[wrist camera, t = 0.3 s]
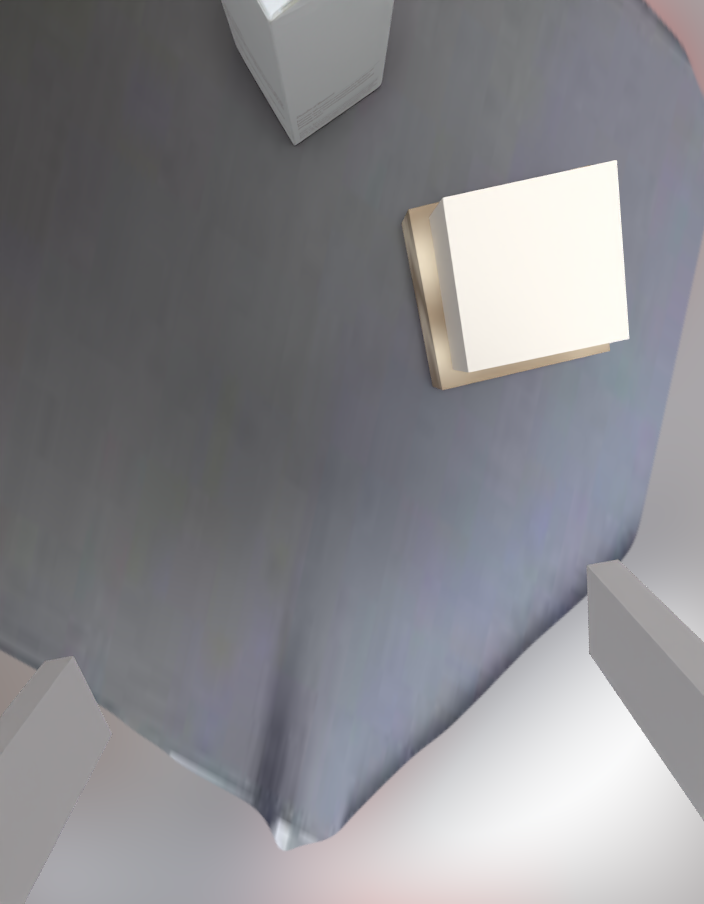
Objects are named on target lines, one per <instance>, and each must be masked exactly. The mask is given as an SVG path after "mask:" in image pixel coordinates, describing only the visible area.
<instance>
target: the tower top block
mask: <svg viewBox="0 0 704 904" xmlns="http://www.w3.org/2000/svg"><path fill="white" fill-rule="evenodd" d="M429 220H430V226H431V233H432V239H433V246H434V252H435V258H436V265H437V271H438V278H439V284H440V291H441V297H442V303H443V310H444V316H445V323H446V329H447V336H448V342H449V348H450V355H451V361H452V368H453V370H457V371H463V372H468V373H469V372H474V371H478V370H483V369H488V368H493V367H497V366H502V365H507V364H512V363H516V362H521V361H526V360H531V359H535V358H540V357H545V356H550V355H554V354H559V353H564V352H569V351H573V350H578V349H583V348H588V347H592V346H597V345H602V344H607V343H611V342H616V341H621V340H626V339H629V329H628V314H627V300H626V286H625V271H624V257H623V243H622V228H621V214H620V200H619V185H618V171H617V160H614V161H610V162H605V163H601V164H596V165H591V166H587V167H582V168H578V169H573V170H569V171H564V172H559V173H555V174H550V175H546V176H541V177H536V178H532V179H527V180H523V181H518V182H513V183H509V184H504V185H500V186H495V187H490V188H486V189H481V190H477V191H472V192H467V193H463V194H458V195H454V196H449V197H444V198H442V200H441V201H440V202H439V204H438V205H437V207H436V208H435V210H434V211H433V213H432V214H431V215H430V217H429Z"/></svg>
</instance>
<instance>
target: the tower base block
mask: <svg viewBox="0 0 704 904" xmlns="http://www.w3.org/2000/svg"><path fill="white" fill-rule="evenodd" d="M588 166H590V165H588ZM584 167H587V166H584ZM580 168H582V167H580ZM576 169H578V168H576ZM572 170H573V169H572ZM568 171H569V170H568ZM438 204H439V202H437V203H433V204H429V205H425V206H421V207H417V208H413V209H408V211H407V213H406V215H405V217H404V220H403V222H402V228H403V234H404V239H405V244H406V249H407V254H408V260H409V265H410V270H411V275H412V280H413V286H414V291H415V296H416V301H417V306H418V312H419V317H420V322H421V327H422V333H423V338H424V343H425V348H426V353H427V359H428V364H429V369H430V374H431V379H432V385H433V387H436V388H438V389H441V390H445V389H450V388H454V387H458V386H462V385H467V384H471V383H475V382H479V381H484V380H488V379H492V378H496V377H501V376H505V375H509V374H513V373H518V372H522V371H526V370H530V369H535V368H539V367H543V366H547V365H552V364H556V363H560V362H564V361H569V360H573V359H577V358H581V357H586V356H590V355H594V354H598V353H603V352H607V351H610V346H609V343H607V344H602V345H597V346H592V347H588V348H583V349H578V350H573V351H569V352H564V353H559V354H554V355H550V356H545V357H540V358H535V359H531V360H526V361H521V362H516V363H512V364H507V365H502V366H497V367H493V368H488V369H483V370H478V371H474V372H469V373H468V372H463V371H457V370H453V368H452V361H451V355H450V348H449V342H448V336H447V329H446V323H445V316H444V310H443V303H442V297H441V291H440V284H439V278H438V271H437V265H436V258H435V252H434V246H433V239H432V233H431V226H430V220H429V217H430V215H431V214H432V213H433V211H434V210H435V208H436V207H437V205H438Z"/></svg>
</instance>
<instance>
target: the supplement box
mask: <svg viewBox="0 0 704 904" xmlns="http://www.w3.org/2000/svg"><path fill="white" fill-rule="evenodd" d="M221 2H222V5H223V8H224V11H225V13H226V16H227V20H228V23H229V26H230V29H231V32H232V35H233V38H234V41H235V44H236V47H237V48H238V50H239V52H240V54H241V56H242V58H243V59H244V61H245V63H246V65H247V67H248V68H249V70H250V72H251V73H252V75H253V77H254V79H255V80H256V82H257V84H258V86H259V87H260V89H261V91H262V92H263V94H264V96H265V97H266V99H267V101H268V102H269V104H270V106H271V107H272V109H273V111H274V113H275V114H276V116H277V118H278V119H279V121H280V123H281V124H282V126H283V128H284V129H285V131H286V133H287V134H288V136H289V138H290V139H291V141H292V143H293V144H294V145H297V144H298V143H300V142H301V141H303V140H304V139H305V138H307V137H308V136H310V135H311V134H313V133H314V132H316V131H317V130H318V129H320V128H321V127H323V126H324V125H326V124H327V123H329V122H330V121H331V120H333V119H334V118H336V117H337V116H339V115H340V114H342V113H343V112H344V111H346V110H347V109H349V108H350V107H351V106H353V105H354V104H356V103H357V102H359V101H360V100H361V99H363V98H364V97H365V96H367V95H369V94H370V93H371V92H373V91H374V90H375V89H377V88H378V87H379V86H380V85H381V84H382V79H383V72H384V65H385V59H386V52H387V45H388V38H389V32H390V25H391V18H392V11H393V5H394V0H221Z"/></svg>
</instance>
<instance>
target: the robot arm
mask: <svg viewBox="0 0 704 904" xmlns="http://www.w3.org/2000/svg"><path fill="white" fill-rule="evenodd" d="M587 590H588V623H589V654H590V655H591V657H592V658H593V659H594V661H595V662H596V664H597V665H598V667H599V668H600V670H601V671H602V673H603V674H604V676H605V677H606V678H607V680H608V681H609V683H610V684H611V686H612V687H613V689H614V690H615V691H616V693H617V695H618V696H619V697H620V699H621V700H622V702H623V703H624V705H625V706H626V708H627V709H628V710H629V712H630V713H631V715H632V716H633V718H634V719H635V721H636V722H637V724H638V725H639V727H640V728H641V729H642V731H643V732H644V734H645V735H646V737H647V738H648V740H649V741H650V743H651V744H652V746H653V747H654V749H655V750H656V751H657V753H658V754H659V756H660V757H661V759H662V760H663V762H664V763H665V765H666V766H667V768H668V769H669V771H670V772H671V773H672V775H673V776H674V778H675V779H676V781H677V782H678V784H679V785H680V787H681V788H682V789H683V791H684V792H685V794H686V795H687V797H688V798H689V800H690V801H691V803H692V804H693V806H694V807H695V808H696V810H697V811H698V813H699V814H700V816H701V817H702V819H703V820H704V642H703V641H702V640H701V639H700V638H699V637H698V636H697V635H696V634H695V633H693V631H691V630H690V629H689V628H688V627H687V626H686V625H685V624H684V623H683V622H682V621H681V620H680V619H679V618H678V617H677V616H676V615H675V614H674V613H673V612H672V611H671V610H670V609H669V608H668V607H667V606H666V605H665V604H664V603H663V602H661V600H659V599H658V598H657V597H656V596H655V595H654V594H653V593H652V592H651V591H650V590H649V589H648V588H647V587H646V586H645V585H644V584H643V583H642V582H641V581H640V580H639V579H638V578H637V577H636V576H635V575H634V574H633V573H632V572H631V571H629V570H628V568H627V567H625V566H624V565H623V564H622V563H621V562H620V561H619V560H613V561H607V562H602V563H596V564H590V565H587ZM111 735H112V732H111V730H110V728H109V726H108V724H107V722H106V720H105V719H104V716H103V714H102V712H101V711H100V708H99V706H98V704H97V702H96V700H95V698H94V696H93V694H92V692H91V690H90V688H89V686H88V684H87V682H86V680H85V678H84V676H83V674H82V672H81V670H80V668H79V666H78V664H77V662H76V660H75V658H74V656H70V657H65V658H59V659H53V660H48V661H44V663H43V664H42V665H41V666H40V668H39V669H38V670H37V671H36V673H35V674H34V675H33V677H32V678H31V679H30V680H29V681H28V683H27V684H26V685H25V686H24V688H23V689H22V690H21V691H20V693H19V694H18V695H17V696H16V698H15V699H14V700H13V701H12V703H11V704H10V705H9V706H8V708H7V709H6V710H5V711H4V713H3V714H2V715H1V716H0V904H25V902H26V900H27V898H28V896H29V894H30V892H31V890H32V888H33V886H34V884H35V882H36V880H37V878H38V876H39V875H40V873H41V871H42V869H43V867H44V865H45V863H46V861H47V859H48V857H49V855H50V853H51V851H52V849H53V848H54V846H55V844H56V842H57V839H58V838H59V836H60V834H61V832H62V830H63V828H64V826H65V824H66V822H67V820H68V819H69V817H70V814H71V813H72V811H73V809H74V807H75V805H76V803H77V801H78V799H79V797H80V795H81V793H82V791H83V790H84V788H85V786H86V784H87V782H88V780H89V778H90V776H91V774H92V772H93V770H94V768H95V766H96V764H97V762H98V760H99V758H100V757H101V755H102V753H103V750H104V749H105V747H106V745H107V743H108V741H109V739H110V737H111Z"/></svg>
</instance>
